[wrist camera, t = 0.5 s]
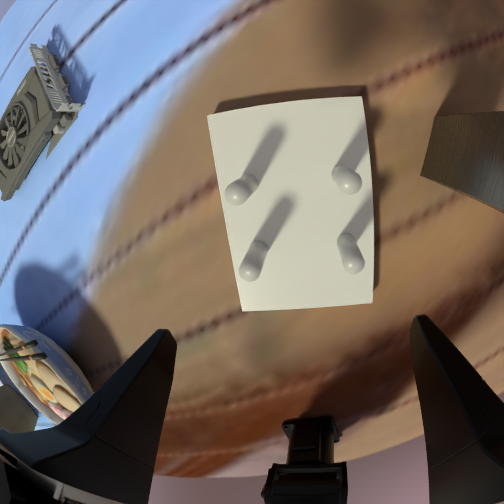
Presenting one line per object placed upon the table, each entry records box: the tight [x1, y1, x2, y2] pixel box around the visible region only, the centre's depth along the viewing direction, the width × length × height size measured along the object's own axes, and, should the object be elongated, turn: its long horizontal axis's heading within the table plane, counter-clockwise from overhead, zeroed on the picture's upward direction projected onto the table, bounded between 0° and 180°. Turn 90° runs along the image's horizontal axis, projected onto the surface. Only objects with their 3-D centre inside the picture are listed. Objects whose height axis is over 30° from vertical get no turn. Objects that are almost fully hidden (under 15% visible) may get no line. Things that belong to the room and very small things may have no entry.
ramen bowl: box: [0, 324, 94, 425], centre depth 33 cm, size 25×23×8 cm
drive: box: [420, 111, 504, 213], centre depth 12 cm, size 5×4×13 cm
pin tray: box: [207, 96, 374, 311], centre depth 19 cm, size 16×11×5 cm
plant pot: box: [0, 385, 38, 454], centre depth 44 cm, size 25×25×22 cm
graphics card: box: [0, 43, 85, 201], centre depth 21 cm, size 17×4×12 cm
